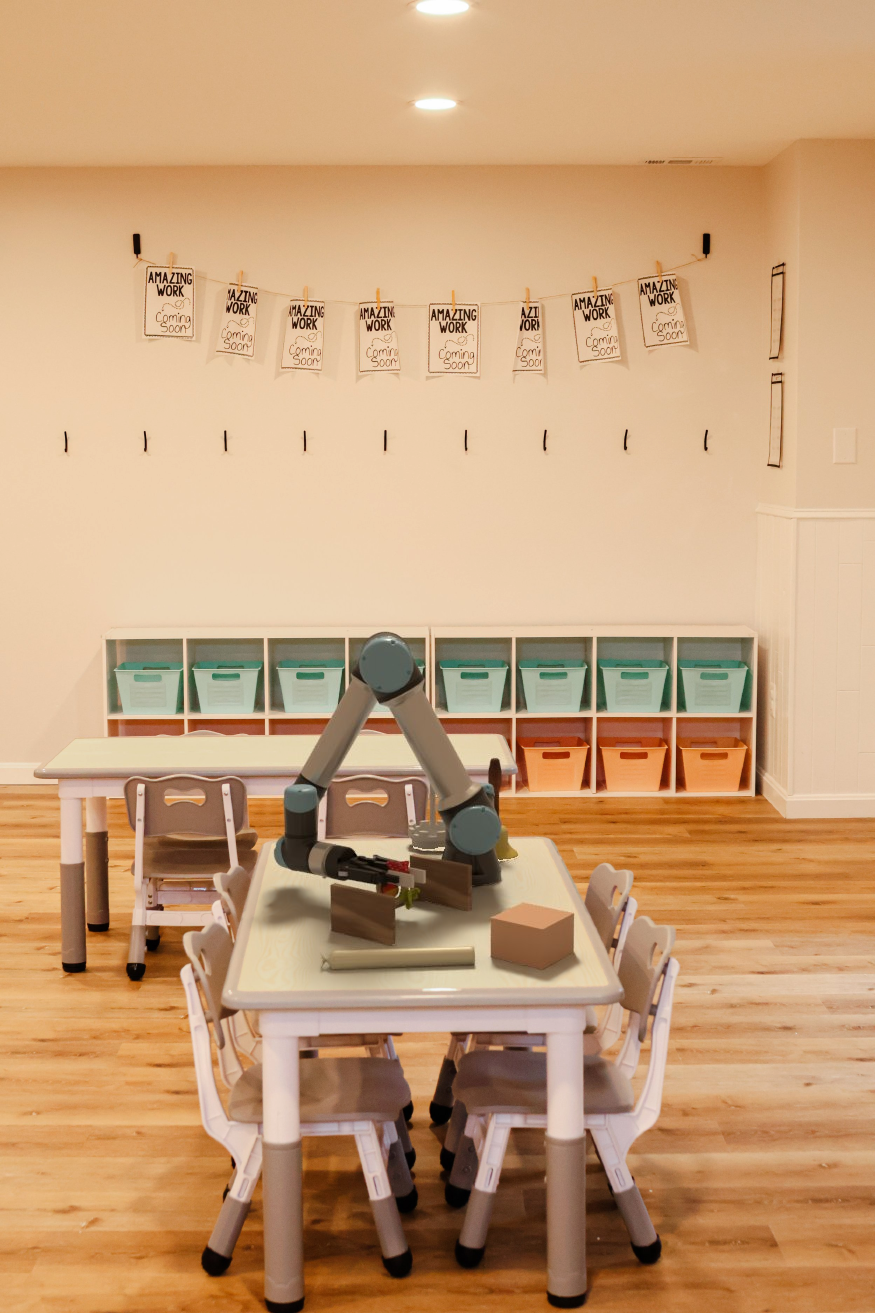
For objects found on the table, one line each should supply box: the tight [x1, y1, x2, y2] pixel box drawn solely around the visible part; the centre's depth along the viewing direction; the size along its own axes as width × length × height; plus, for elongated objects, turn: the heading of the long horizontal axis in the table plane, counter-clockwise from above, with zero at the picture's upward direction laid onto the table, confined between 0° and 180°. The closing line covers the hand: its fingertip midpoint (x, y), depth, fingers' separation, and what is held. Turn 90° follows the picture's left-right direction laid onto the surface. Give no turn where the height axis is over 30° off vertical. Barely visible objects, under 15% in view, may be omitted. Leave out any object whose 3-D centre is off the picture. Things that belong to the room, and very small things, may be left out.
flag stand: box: [407, 783, 445, 849], centre depth 339 cm, size 13×13×30 cm
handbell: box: [487, 757, 519, 860], centre depth 330 cm, size 12×12×25 cm
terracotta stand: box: [490, 902, 575, 970], centre depth 260 cm, size 12×12×8 cm
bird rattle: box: [375, 860, 420, 911], centre depth 280 cm, size 6×11×9 cm
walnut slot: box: [329, 853, 473, 947], centre depth 281 cm, size 29×16×10 cm, turn 144°
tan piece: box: [320, 945, 476, 970], centre depth 254 cm, size 4×30×4 cm, turn 95°
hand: (418, 879), depth 277 cm, fingers closed on bird rattle, 3 cm apart
